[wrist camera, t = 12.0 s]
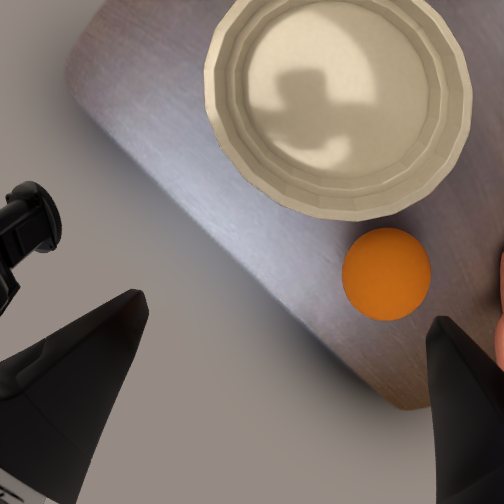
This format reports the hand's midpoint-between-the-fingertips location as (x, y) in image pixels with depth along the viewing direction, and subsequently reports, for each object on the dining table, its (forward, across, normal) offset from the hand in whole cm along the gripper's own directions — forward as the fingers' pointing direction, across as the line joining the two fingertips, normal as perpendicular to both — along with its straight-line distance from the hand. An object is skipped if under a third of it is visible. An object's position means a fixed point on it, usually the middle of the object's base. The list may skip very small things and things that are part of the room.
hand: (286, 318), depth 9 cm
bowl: (+13, -2, -6) cm, 14 cm away
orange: (+13, -6, +5) cm, 15 cm away
